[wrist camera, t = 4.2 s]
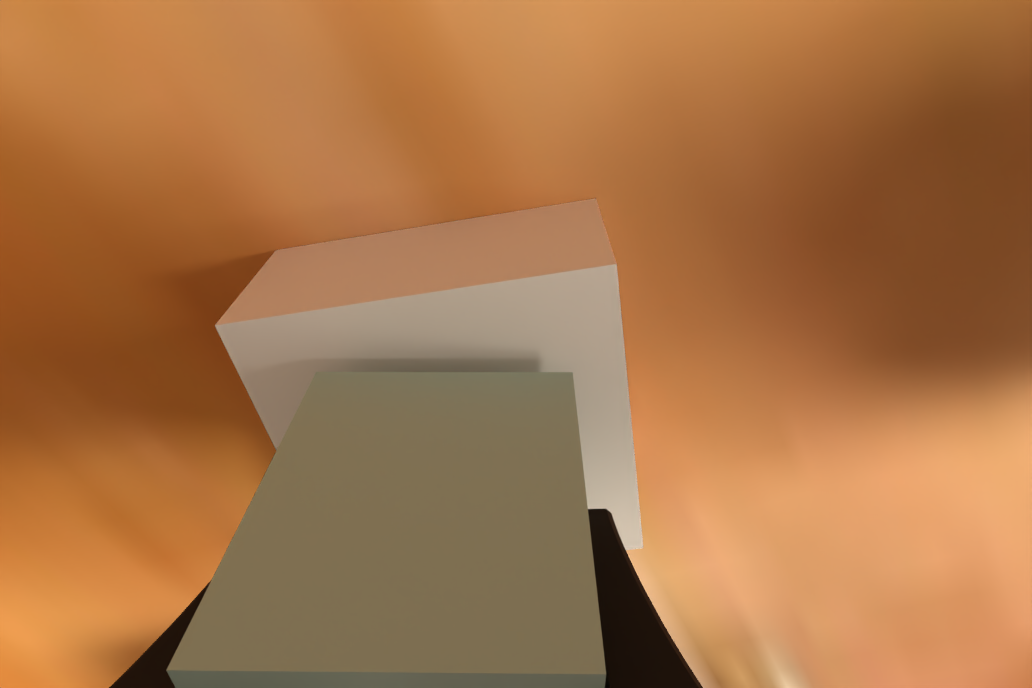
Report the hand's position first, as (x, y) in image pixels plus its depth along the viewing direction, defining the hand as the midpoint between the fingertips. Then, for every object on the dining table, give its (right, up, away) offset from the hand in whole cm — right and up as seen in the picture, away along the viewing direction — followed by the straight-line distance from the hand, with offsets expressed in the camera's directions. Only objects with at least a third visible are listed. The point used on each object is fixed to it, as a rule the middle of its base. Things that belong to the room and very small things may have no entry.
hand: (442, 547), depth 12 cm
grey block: (0, +4, +6) cm, 7 cm away
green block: (0, +1, +2) cm, 2 cm away
